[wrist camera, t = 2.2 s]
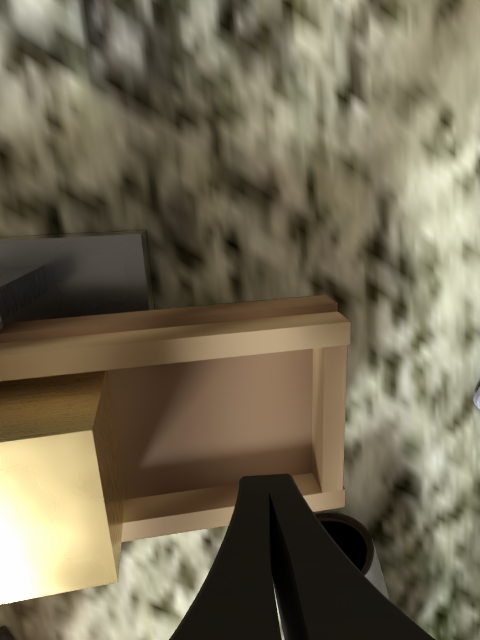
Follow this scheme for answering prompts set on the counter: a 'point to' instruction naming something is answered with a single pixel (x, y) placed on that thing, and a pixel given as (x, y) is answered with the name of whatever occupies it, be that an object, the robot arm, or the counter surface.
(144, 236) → the stand
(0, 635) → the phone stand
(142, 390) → the wooden tray
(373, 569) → the gray cylinder
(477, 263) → the counter surface
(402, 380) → the counter surface
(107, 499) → the block
